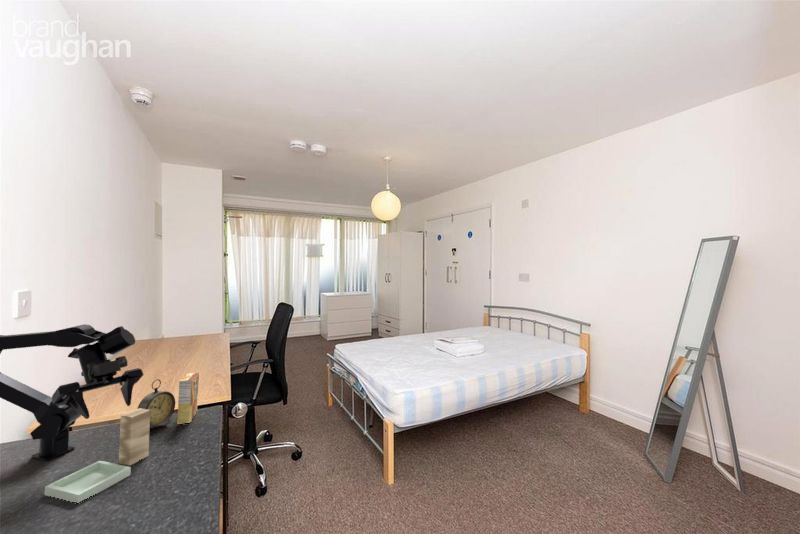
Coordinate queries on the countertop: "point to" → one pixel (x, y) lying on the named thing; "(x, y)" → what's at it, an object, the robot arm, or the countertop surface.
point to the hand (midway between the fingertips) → (109, 411)
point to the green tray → (87, 481)
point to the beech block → (134, 436)
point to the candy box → (187, 398)
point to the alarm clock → (158, 406)
